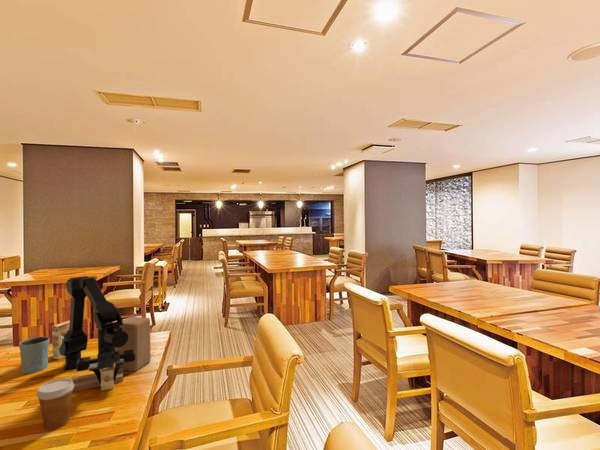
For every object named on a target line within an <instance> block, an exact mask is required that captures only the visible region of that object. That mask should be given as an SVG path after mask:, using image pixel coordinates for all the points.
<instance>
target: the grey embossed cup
mask: <svg viewBox="0 0 600 450" xmlns="http://www.w3.org/2000/svg"><path fill="white" fill-rule="evenodd" d="M50 340H51V338H50V336H35V337H32V338H27V339H24V340H21V341H20V342H19V343H18V345H19V353H20V363H21V372H22V373H23V374H34V373H39V372H41V371H43V370H45V369H47V368H48V366H49V355H50V354H49V352H50Z"/></svg>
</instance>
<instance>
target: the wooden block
mask: <svg viewBox="0 0 600 450" xmlns="http://www.w3.org/2000/svg"><path fill="white" fill-rule="evenodd" d="M122 322H123V325H121V326H119V327H122V331H125V332H126V333H127V334H128V340H127V342H126V344H125V345H123V346H122V347H118V348H117V347H116V352H118V351H120V354H124V351H125V350H131V349H134V350H135V361H132V362H124V365H121V366H120V368H119V369H121V368H123V371H127V372H128V371H130V372H137V371H139V370H140V369H142V368H143V367H145V366H146V365H148V364H149V363H150V362H151V359H152V357H151V319H150V317H142V316H130V317H128V318H124V319H123V321H122Z"/></svg>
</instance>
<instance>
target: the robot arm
mask: <svg viewBox="0 0 600 450" xmlns="http://www.w3.org/2000/svg"><path fill="white" fill-rule="evenodd" d="M97 282H98V281H97V278H96V277H94V276H91V277H89V276H87V275H86V276H85V275H84V276H76V277H70V278H69V279H68V280H67V281H66V283H65V289H66V291H67V294H68V295H69V297H70V298H71V300H70V313H69V320H70V325H69V330H68V332H67V333H66V334H65V336H64V340H63V342H62V344H61V346H60V348H59V351H60V354H61V355H63V356H65V357H64V358H65V359H64V363H65V364H64V366H63V371H68V370H72V369H73V370H74V369H76V372H82V371H87V370H88V371H89V372H93V374H94V373H95V374H96V376H97V378H98V380H99V383H100V384H101V369H103V368H111V367H113V366H114V381H115V379H116V376H117V373H118V370H119V368H120V366H121V365H124V362H132V361H135V350H134V349H131V350H125V351H124V354H120V351H118V352H116V347H117V348H118V347H122V346H123V345H125V344H126V342H127V340H128V334H127V333H126V332H125V331H122V327H119V326H121V325H123V322H122V321H123V320H124V319H123V317H122V315H121V313H120V311H119V309H118V308H117V306H116V305H114V303H113V302H110V301H108V300H107V298H106V297H105V295H104V293H103V292H102V290H101V288H100V287H99V285H98V283H97ZM86 297H87V299H88V300H89V303H90V304H91V306H92V307H93V313H92V317H93V322H94V323H95V327H96V329H97V349H98V350H97V356H96V357H97V358H92V357H91V356H84V357H82V351H87V347H88V341H89V340H88V335H87V334H86V332H85V331H84V330H83V329H84V328H83V327H84V316H85V304H86V303H85V301H86V300H85V299H86Z"/></svg>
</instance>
